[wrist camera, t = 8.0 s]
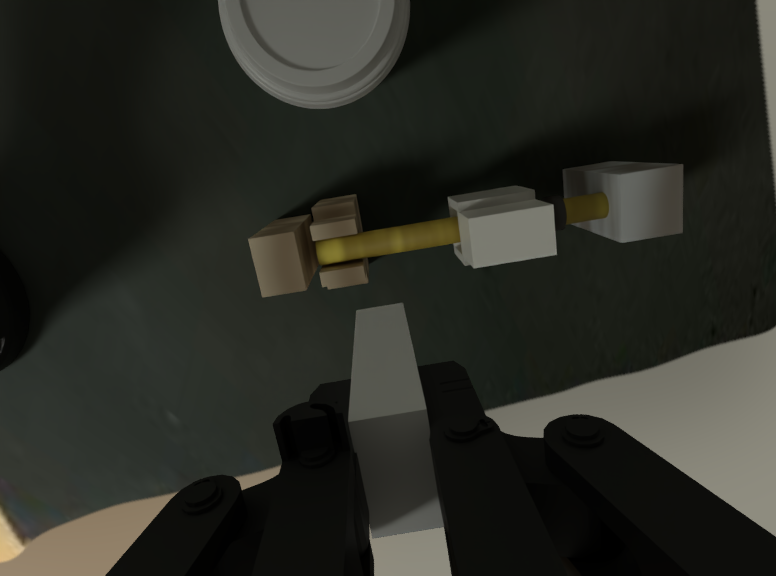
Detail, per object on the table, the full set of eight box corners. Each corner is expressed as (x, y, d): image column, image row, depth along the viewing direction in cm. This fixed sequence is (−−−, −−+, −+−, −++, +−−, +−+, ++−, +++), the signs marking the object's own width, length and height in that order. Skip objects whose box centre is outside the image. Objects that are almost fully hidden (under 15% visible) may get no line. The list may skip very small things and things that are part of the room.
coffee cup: (421, 35, 36) (453, -41, 22) (355, 146, 38) (345, 144, 24) (311, -44, 35) (267, -183, 20) (248, 76, 37) (168, 28, 22)
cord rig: (288, 277, 41) (264, 313, 32) (272, 208, 40) (242, 225, 30) (613, 223, 41) (682, 244, 32) (610, 151, 39) (683, 151, 30)
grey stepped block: (454, 252, 36) (475, 278, 29) (447, 196, 35) (466, 208, 28) (520, 241, 36) (557, 264, 29) (515, 185, 35) (552, 194, 28)
